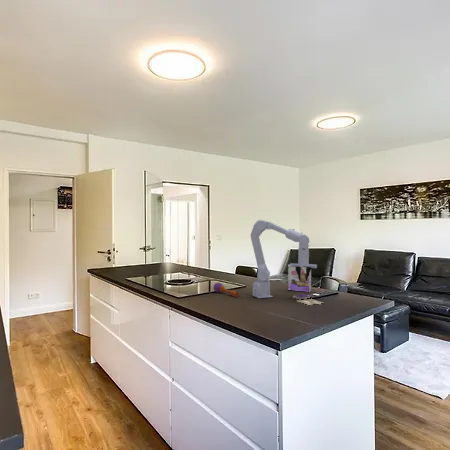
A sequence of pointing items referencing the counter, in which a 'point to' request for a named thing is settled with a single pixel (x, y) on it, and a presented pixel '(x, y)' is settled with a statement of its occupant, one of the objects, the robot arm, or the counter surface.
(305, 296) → the ink pad
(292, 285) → the candy box
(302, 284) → the stamp
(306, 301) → the board
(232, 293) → the maraca
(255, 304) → the counter surface
